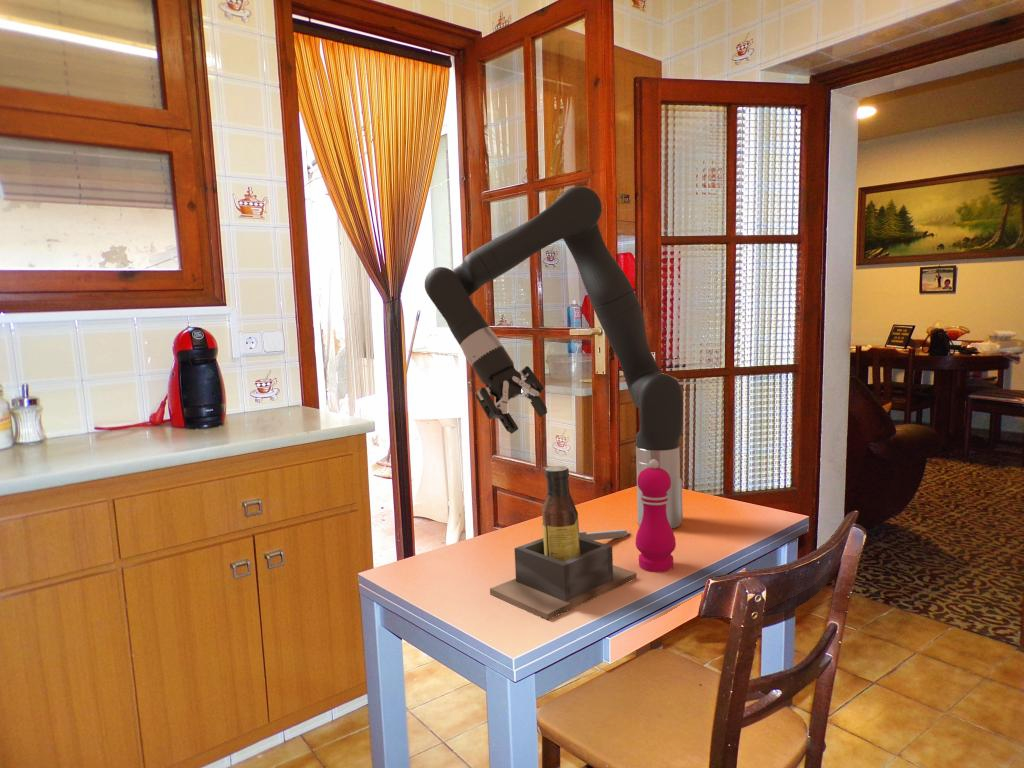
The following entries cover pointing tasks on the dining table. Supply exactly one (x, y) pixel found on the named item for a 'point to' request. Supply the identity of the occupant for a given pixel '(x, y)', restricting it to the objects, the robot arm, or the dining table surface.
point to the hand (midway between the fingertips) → (529, 423)
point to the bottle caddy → (560, 578)
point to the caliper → (604, 534)
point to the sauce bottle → (560, 517)
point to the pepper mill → (655, 520)
